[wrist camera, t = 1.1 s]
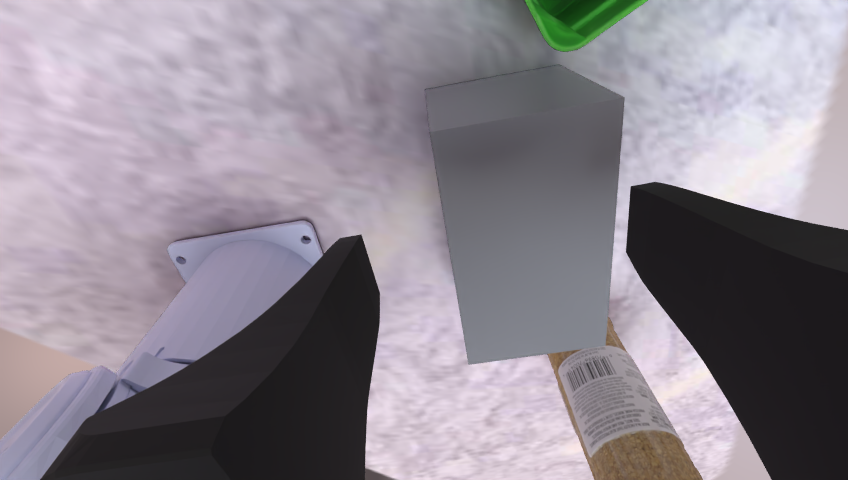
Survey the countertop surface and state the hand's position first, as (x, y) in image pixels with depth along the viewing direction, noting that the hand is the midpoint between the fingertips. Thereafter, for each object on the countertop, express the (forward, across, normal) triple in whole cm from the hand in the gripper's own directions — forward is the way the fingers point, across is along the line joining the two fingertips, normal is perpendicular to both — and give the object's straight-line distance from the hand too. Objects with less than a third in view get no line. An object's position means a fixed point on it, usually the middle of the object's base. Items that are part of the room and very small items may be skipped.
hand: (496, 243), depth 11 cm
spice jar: (+10, -5, +14) cm, 18 cm away
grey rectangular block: (+10, -2, +3) cm, 10 cm away
